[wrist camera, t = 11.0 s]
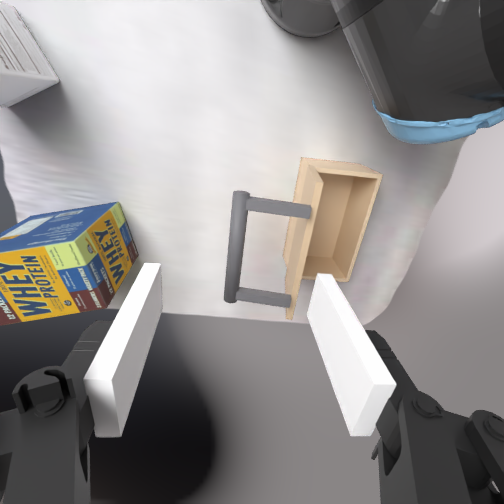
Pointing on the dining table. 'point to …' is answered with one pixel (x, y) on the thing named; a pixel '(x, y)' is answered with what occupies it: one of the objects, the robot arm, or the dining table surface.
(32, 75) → the supplement box
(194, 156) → the dining table surface
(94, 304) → the protein box
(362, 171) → the carton
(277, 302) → the flap
